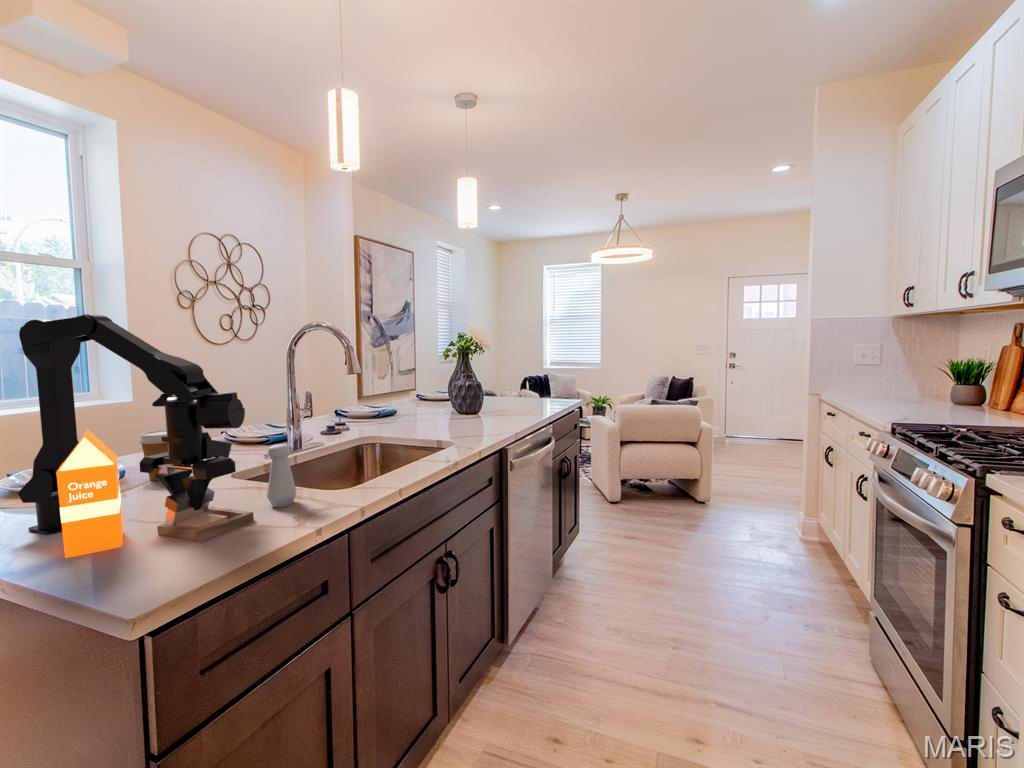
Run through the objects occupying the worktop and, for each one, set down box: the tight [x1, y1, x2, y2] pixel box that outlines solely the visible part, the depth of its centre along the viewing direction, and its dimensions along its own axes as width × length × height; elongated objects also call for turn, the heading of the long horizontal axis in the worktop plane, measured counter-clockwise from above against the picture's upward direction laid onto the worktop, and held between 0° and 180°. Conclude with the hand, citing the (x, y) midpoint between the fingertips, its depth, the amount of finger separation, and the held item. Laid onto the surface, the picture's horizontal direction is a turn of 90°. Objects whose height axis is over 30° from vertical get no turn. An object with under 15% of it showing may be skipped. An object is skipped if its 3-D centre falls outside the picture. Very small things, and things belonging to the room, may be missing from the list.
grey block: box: [164, 487, 215, 526], centre depth 98 cm, size 3×8×6 cm, turn 160°
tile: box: [176, 513, 228, 530], centre depth 97 cm, size 6×6×2 cm
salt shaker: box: [266, 443, 297, 508], centre depth 109 cm, size 6×6×13 cm
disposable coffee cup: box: [138, 429, 168, 481], centre depth 133 cm, size 10×10×12 cm
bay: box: [156, 506, 255, 543], centre depth 96 cm, size 11×11×2 cm
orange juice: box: [56, 429, 125, 559], centre depth 88 cm, size 8×9×20 cm
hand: (190, 508), depth 98 cm, fingers closed on grey block, 3 cm apart
